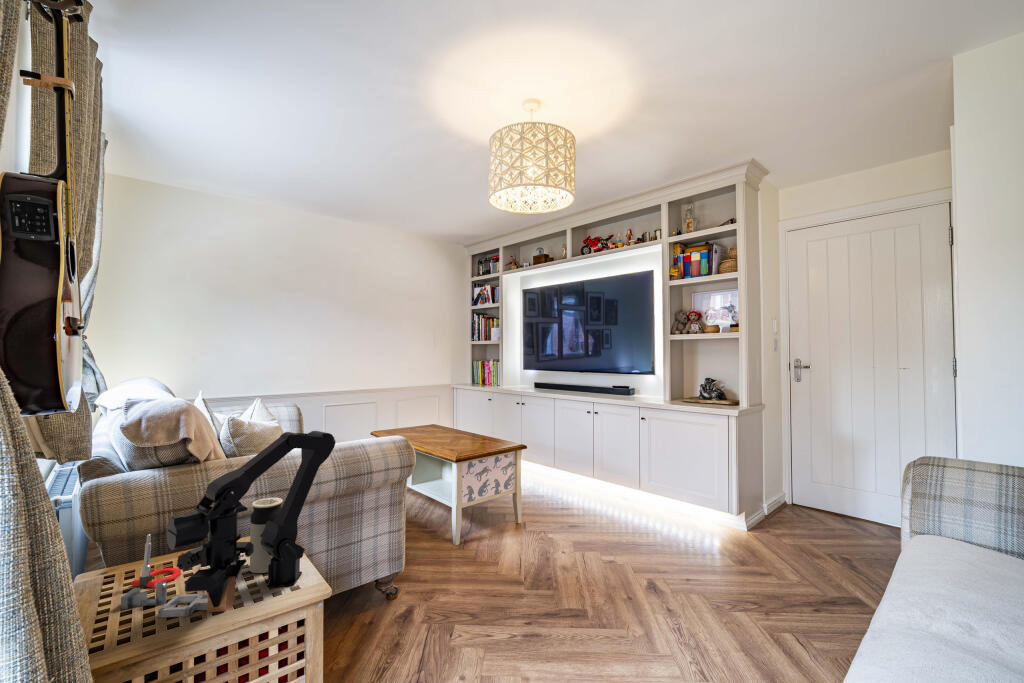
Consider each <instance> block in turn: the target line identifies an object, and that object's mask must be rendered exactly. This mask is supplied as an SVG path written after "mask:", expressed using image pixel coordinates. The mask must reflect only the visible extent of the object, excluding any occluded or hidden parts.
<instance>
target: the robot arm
mask: <svg viewBox="0 0 1024 683" xmlns="http://www.w3.org/2000/svg"><path fill="white" fill-rule="evenodd" d="M335 446H336V439H335V436H333V434H332V433H329V432H325V431H320V430H312V431H310V432H308V433H306V432H305V433H304V432H291V431H285V432H283V433H281V435H280V436H279V437H278V438H277V439H275V440H274V441H273V442H271V443H270V444H269V445H268V446H266V447H265V448H264V449H262V450H261V451H259V452H258V453H257V454H256V455H254V457H252V458H251V459H250V460H248V461H247V462H245V463H244V464H243V465H242V466H240V467H238V468H237V469H234V470H231V471H229V472H226V473H225V474H223V475H221V476H219V477H217V478H216V479H214V480H213V481H211V482H210V483H209V484H208V485H207V487H206V489H205V494H204V495H203V496H202V498H201V499H200V501H199V502H198V503H197V504H196V506H195V507H194V511H192V512H189V513H185V514H178V515H173V516H171V518H170V522H169V524H168V527H167V529H166V534H165V535H166V542H167V545H168V547H169V549H170V550H171V551H174V550H177V549H180V548H183V547H186V546H189V545H190V546H191V545H195V544H197V543H201V542H202V541H204V539H206V538H207V541H205V542H204V543H203V544H202V545H200V546H198V547H194V548H193V549H190V550H188V551H186V552H185V553H184V552H182V553H181V554H180V555H178V556H177V560H176V561H177V563H176V568H178V569H180V570H181V571H182V570H183V572H186V571H189V569H191V568H194V567H196V566H200V567H201V568H205V567H209V568H206V569H198V570H196V571H195V572H194V573H193V574H192V575H191V576H189V577H188V578H187V580H185V582H184V591H185V592H186V593H187V592H203V591H204V592H205V591H206V592H207V596H208V595H209V597H210V599H211V602H212V604H213V607H219V606H220V603H221V600H222V598H223V595H224V592H225V589H226V586H227V583H228V581H229V578H230V577H225V576H235V583H236V582H237V580H238V579H239V576H240V574H241V572H242V570H243V568H244V566H245V564H246V563H247V559H241V557H240V556H241V554H244V556H245V557H246V558H250V555H251V554H252V553H253V552H254V545H253V544H252V543H251V542H250V541H239V540H240V539H241V538H242V533H238V513H243V512H245V511H246V512H247V511H248V507H247V506H245V505H243V503H242V502H241V499H243V497H244V496H245V495H246V494H247V493H248V492H249V490H250V488H251V486H252V485H253V483H254V482H255V481H256V480H257V479H259V477H261V476H262V475H264V474H265V473H266V472H267V471H268V470H270V469H271V468H272V467H273V466H275V465H276V464H277V463H278V462H280V460H282V459H284V458H285V456H287V455H288V454H290V452H292V451H293V450H294V449H301V460H300V461H301V462H300V464H299V467H298V469H297V471H296V474H295V476H294V478H293V481H292V484H291V485H290V488H289V490H288V493H287V495H286V496H285V497H286V498H285V500H284V503H283V505H282V506H281V508H282V509H281V511H280V514H279V515H278V517H277V518H276V519H275V520H274V521H273V522H271V521H267V522H266V525H265V529H264V531H263V533H262V534H261V535H260V537H262V538H261V546H262V548H263V549H264V550H265V551H267V552H268V554H269V555H271V556H273V557H272V558H271V560H270V564H269V565H268V572H267V573H268V574H267V581H268V582H267V584H266V586H267V588H268V587H270V588H272V587H273V588H274V587H288V586H289V587H292V586H294V585H295V584H296V583H297V581H298V580H299V578H301V576H302V574H303V572H302V571H301V569H300V567H301V566H300V565H301V559H302V558H304V557H303V556H304V554H305V550H306V549H305V548H304V547H302V546H301V545H300V544H298V543H296V541H297V538H298V535H299V527H298V526H299V524H298V522H299V521H298V520H299V517H300V515H301V513H302V510H303V508H304V506H305V504H306V503H305V502H306V500H307V498H308V495H309V493H310V490H311V488H312V485H313V484H314V481H315V478H316V476H317V473H318V471H319V468H320V466H321V465H322V464H324V462H326V460H327V459H328V458H330V455H331V454H332V452H333V451H334V449H335ZM212 504H214V505H213V506H211V505H212Z"/></svg>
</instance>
